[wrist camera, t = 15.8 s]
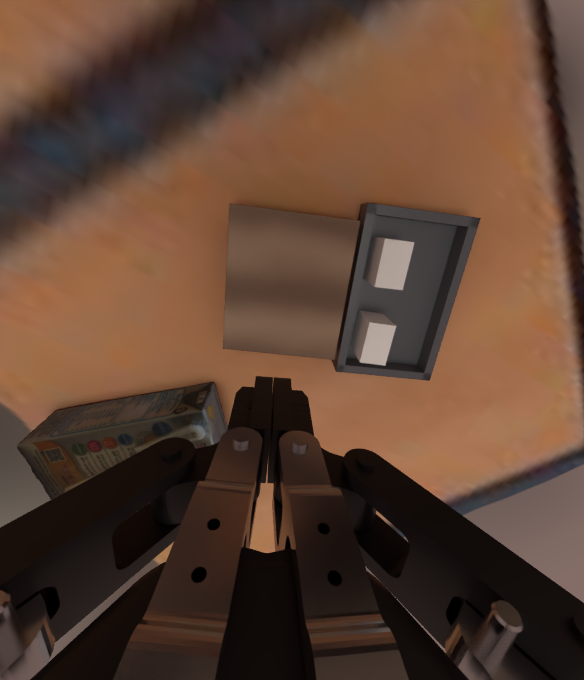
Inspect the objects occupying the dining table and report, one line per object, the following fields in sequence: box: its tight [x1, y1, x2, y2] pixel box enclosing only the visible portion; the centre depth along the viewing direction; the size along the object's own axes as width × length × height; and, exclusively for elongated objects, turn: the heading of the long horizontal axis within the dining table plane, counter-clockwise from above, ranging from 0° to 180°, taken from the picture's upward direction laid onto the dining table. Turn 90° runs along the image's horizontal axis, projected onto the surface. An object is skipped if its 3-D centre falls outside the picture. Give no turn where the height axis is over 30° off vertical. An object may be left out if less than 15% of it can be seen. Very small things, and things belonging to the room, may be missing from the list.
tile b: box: [351, 310, 396, 366], centre depth 31 cm, size 4×4×2 cm
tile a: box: [363, 236, 415, 290], centre depth 28 cm, size 4×4×2 cm
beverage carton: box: [17, 382, 228, 499], centre depth 34 cm, size 8×19×7 cm, turn 100°
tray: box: [332, 203, 480, 381], centre depth 31 cm, size 16×10×2 cm, turn 173°
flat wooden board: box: [223, 204, 360, 360], centre depth 30 cm, size 13×11×3 cm
